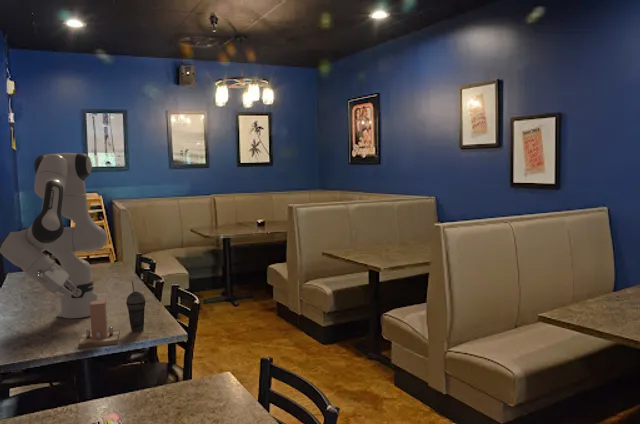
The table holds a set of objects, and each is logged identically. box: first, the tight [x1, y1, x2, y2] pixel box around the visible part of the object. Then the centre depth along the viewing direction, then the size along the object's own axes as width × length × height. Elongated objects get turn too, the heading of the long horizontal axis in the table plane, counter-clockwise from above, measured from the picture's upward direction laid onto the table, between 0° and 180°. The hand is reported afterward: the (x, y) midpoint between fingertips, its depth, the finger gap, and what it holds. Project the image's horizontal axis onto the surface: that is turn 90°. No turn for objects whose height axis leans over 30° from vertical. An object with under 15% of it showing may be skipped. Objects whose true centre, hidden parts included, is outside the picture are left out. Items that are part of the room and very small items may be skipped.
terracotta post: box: [89, 299, 109, 339], centre depth 195 cm, size 5×5×13 cm
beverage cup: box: [125, 280, 146, 334], centre depth 206 cm, size 7×7×20 cm
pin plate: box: [78, 326, 121, 349], centre depth 196 cm, size 13×13×4 cm
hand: (73, 292), depth 192 cm, fingers open, 8 cm apart
